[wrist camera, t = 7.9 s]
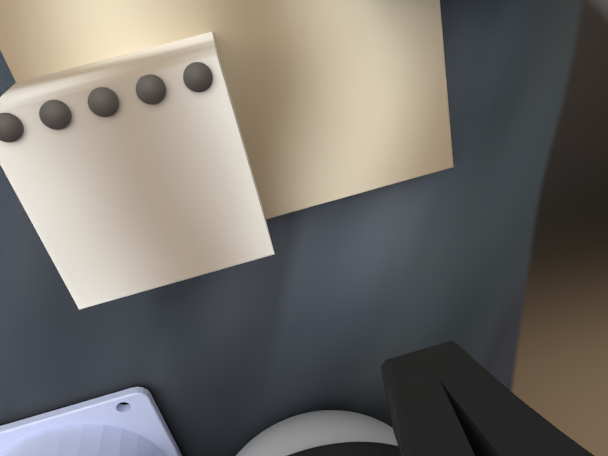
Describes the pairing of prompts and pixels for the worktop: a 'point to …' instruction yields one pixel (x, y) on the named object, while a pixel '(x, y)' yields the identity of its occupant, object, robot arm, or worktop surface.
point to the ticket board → (285, 80)
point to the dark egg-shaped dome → (325, 436)
